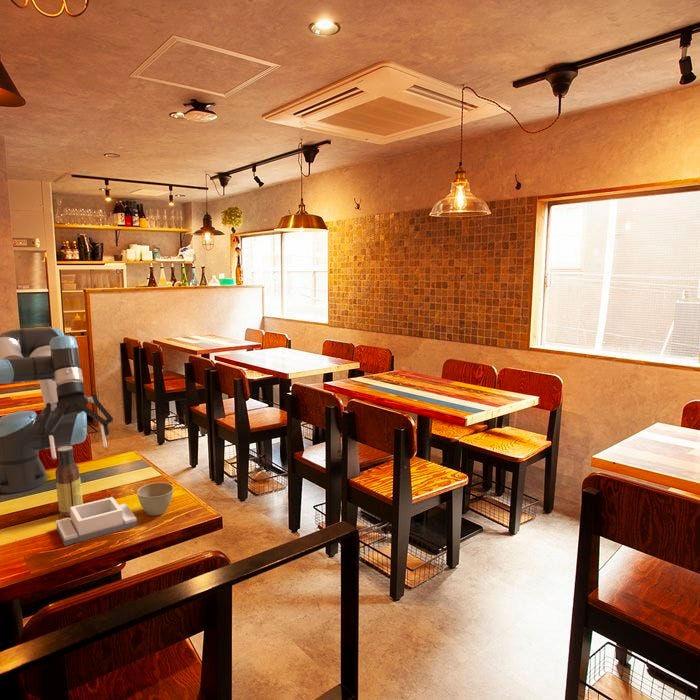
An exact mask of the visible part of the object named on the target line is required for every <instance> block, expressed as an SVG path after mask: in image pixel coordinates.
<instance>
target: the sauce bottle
mask: <svg viewBox="0 0 700 700" xmlns="http://www.w3.org/2000/svg"><path fill="white" fill-rule="evenodd" d="M56 455H57V456H58V457H57V459H58V466H57V468H56V469H55V472H54V475H55V484H56V485H55V486H56V495H57V496H56V497H57V503H58V510H59V514H60V515H61V516H63V517H71V513H70V507H73V506H77V505H81V504H84V501H83V490H82V489H83V488H82V481H81V475H80V467H79V465H78V464H77V463H76V461H74V448H73V445H68V446H61V447H57V450H56Z"/></svg>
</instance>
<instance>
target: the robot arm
mask: <svg viewBox="0 0 700 700" xmlns="http://www.w3.org/2000/svg"><path fill="white" fill-rule="evenodd" d="M34 381H35V382H36V381H37V382H38V383H39V386H40V387H39V388H40V392H41V396H42V400H43V405H44V408H43V409H42V411H41V413H40V414H37V413H36V411H34V410H19V411H16V412H12V413H9V414H6V415H3V416H1V417H0V494H14V493H21V492H26V491H31V490H32V489H36V488H38V487H40V486H42V485H44V484H45V483H46V481H47V472H46V470H45V467H44V466H43V463H42V461H41V459H40V455H39V453H40V452H39V451H43V450H48V449H50V453H51V458H52V459H53V460H56V459H57V450H56V448H60V447H64V446H73V445H76V444H81V443H83V442H85V440H86V439H87V427H88V420H87V419H88V418H87V416H89V417H91V418H93V419H94V420H95V421H97V422H98V423H100V425H99V426H100V432H101V437H102V444H103V448H104V449H105V448H106V449H107V448H108V443H107V438H106V436H107V437H108V436H109V435H110V431H109V425H110V424H111V423H113V422H114V418H113V416H112V415H111V414H110V413H109V411H108V410H107V409H106V408H105V407H104V405H103V404H101V402H100V401H99V398H98V395H97V394H96V393H95V394H92V396H89V397H87V396H86V395H87V394H86V390H85V389H86V388H85V384H84V377H83V370H82V367H81V360H80V353H79V346H78V341H77V338H75V336H72V335H66V334H65V333H64V332H63V330H62V329H60V328H55V327H46V328H25V329H24V328H23V329H11V330H8V331H4V332H2V333H0V384H1V385H2V384H5V385H8V384H9V385H10V384H14V383H24V382H25V383H26V382H34ZM89 402H90V403H91V404H94V405H95V406H96V407H97V409H98V410H99V411H100V412H101V413H102V415H103V416H104V417H105V418H106V419H104V418H103V417H102V416H100V415H99V414H97V413H96V412H95V411H93V410H92V409H90V408H89V407H88V406H87V405H88V403H89Z"/></svg>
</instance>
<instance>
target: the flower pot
mask: <svg viewBox="0 0 700 700" xmlns="http://www.w3.org/2000/svg"><path fill="white" fill-rule="evenodd" d="M173 493H174V486H173V485H172V484H170V483H169V482H151V483H148V484H144V485H142V486H141V487H139V488H138V489H137V492H136V494H137V497H138V501H139V503H140V505H141V508H142V509H143V510H144V512H145V513H146V514H147V515H148V516H151V517H157V516H160V515H163V514H164V513H165V512H166V511H167V509H168V508H169V506H170V504H171V502H172V498H173Z"/></svg>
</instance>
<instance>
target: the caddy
mask: <svg viewBox="0 0 700 700" xmlns="http://www.w3.org/2000/svg"><path fill="white" fill-rule="evenodd" d="M70 513H71V516H70V518H69V517H65V518H62V519H59V520H58V519H57V520H56V521H55V523H56V524H55V525H56V530H57V533H58V534H59V536H60V539H61V541H62V543H63V545H64V546H65V547H66V546H70V545H73V543H74V544H77V543H81V542H84V541H88V540H91V539H95V538H98V537H102V536H105V535H109V534H112V533H116V532H120V531H124V530H126V529H130V528H133V527H134V528H135V527H137V526H138V521H137V520H138V518H137V516H136V515H135V514H134V512H132V510H131V509H130V507H128V505H127V504H126V503H122V504H118V501H116V499H115V498H114V497H113V496H110V497H105V498H102V499H98V500H94V501H90V502H85V503H83V504H81V505H77V506H73V507H70Z"/></svg>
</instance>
